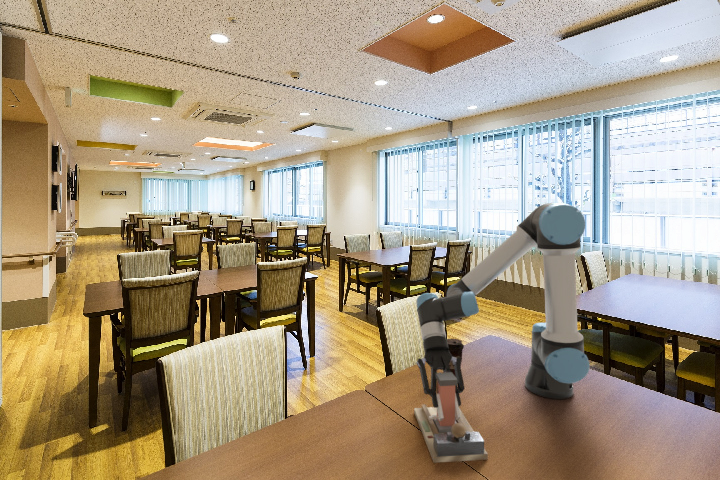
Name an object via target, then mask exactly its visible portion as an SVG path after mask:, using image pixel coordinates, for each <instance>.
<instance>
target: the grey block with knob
mask: <svg viewBox="0 0 720 480" xmlns="http://www.w3.org/2000/svg"><path fill="white" fill-rule="evenodd" d="M433 447H434V449H435V452H436V454H437V457H443V456H460V455H477V454H484V448H485V440H484V438H483V437H482V435H481V434H480V432H479V431H474V432H469V431H466V434H465V436H464V437H459V438H456V437H454V436H453V434H452V433H451V432H447V433H444V434H433Z"/></svg>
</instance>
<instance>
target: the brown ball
mask: <svg viewBox="0 0 720 480" xmlns="http://www.w3.org/2000/svg"><path fill="white" fill-rule="evenodd" d="M451 431H452V434H453V436H454V437H456V438H459V437H464V436H465V434H466V429H465V427H464V426H463V425H462V424H461V423H455V424H454V425H453V426H452V428H451Z"/></svg>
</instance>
